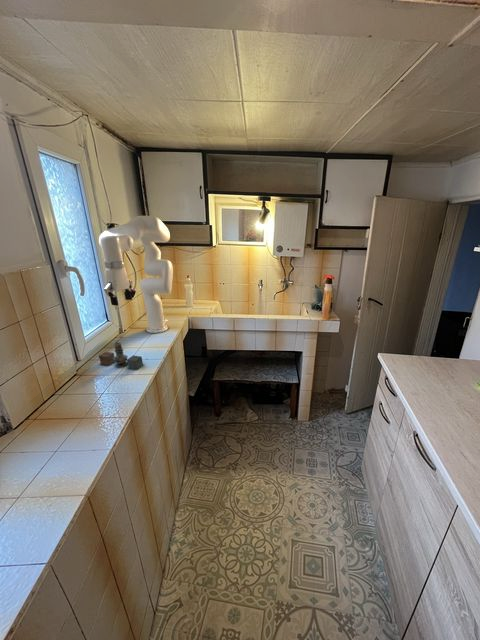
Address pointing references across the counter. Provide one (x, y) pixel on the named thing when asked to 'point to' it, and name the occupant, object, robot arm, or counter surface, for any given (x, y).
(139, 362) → the slate block
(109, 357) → the walnut block
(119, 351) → the stone chess piece
